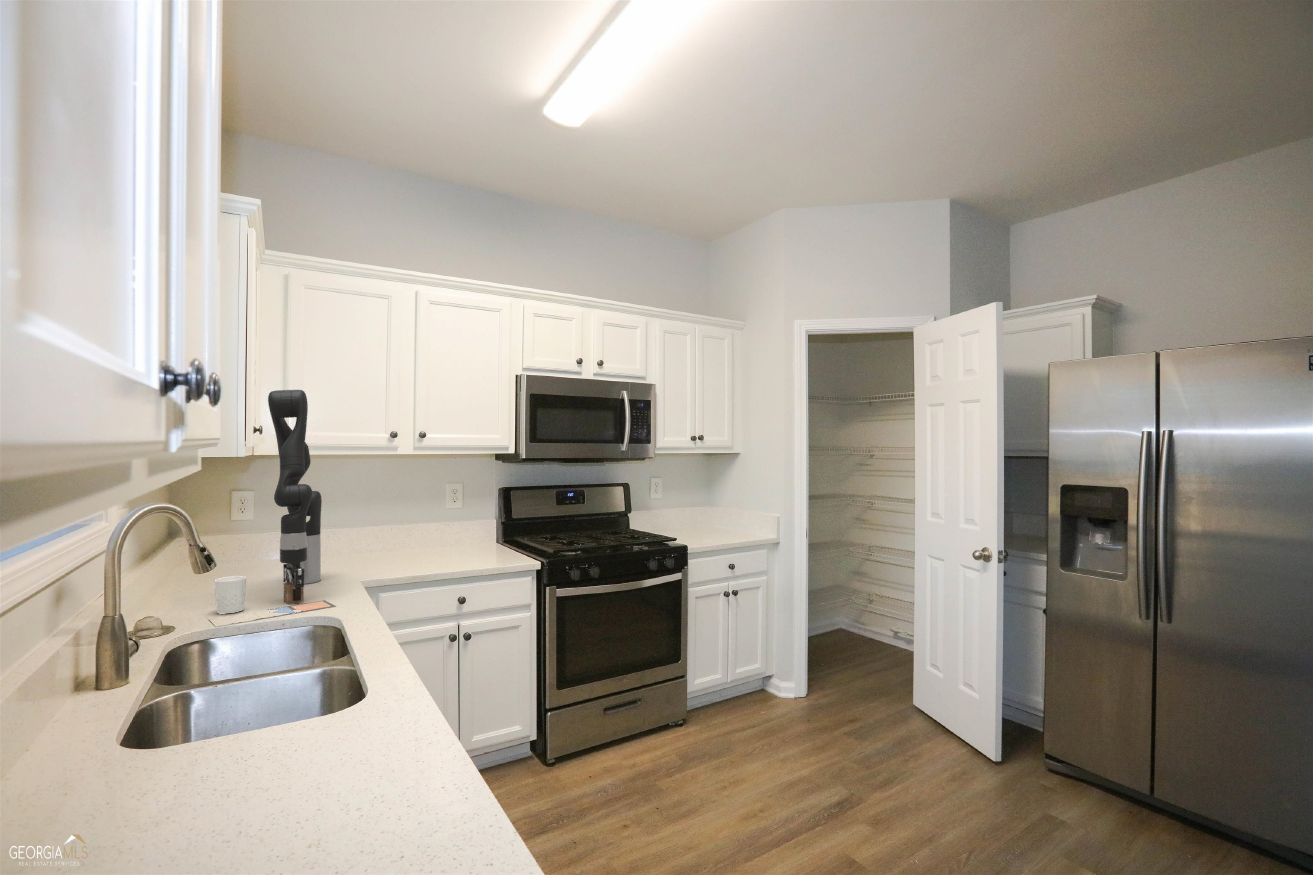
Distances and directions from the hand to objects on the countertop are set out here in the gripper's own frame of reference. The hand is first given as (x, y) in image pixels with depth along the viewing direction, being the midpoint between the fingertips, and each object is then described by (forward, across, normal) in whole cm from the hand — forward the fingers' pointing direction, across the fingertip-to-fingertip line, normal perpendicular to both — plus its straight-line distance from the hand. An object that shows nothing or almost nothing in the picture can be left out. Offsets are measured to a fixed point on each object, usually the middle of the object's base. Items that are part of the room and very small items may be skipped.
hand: (293, 598), depth 202 cm
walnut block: (+1, 0, 0) cm, 1 cm away
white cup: (+1, 0, -17) cm, 17 cm away
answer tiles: (+1, +11, -8) cm, 14 cm away
